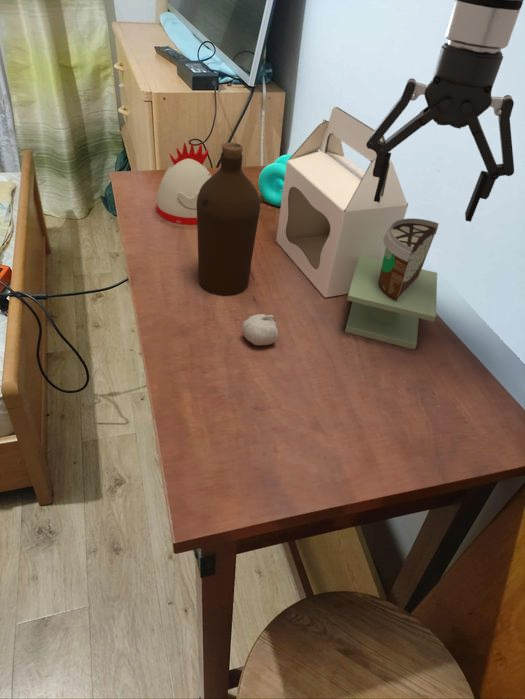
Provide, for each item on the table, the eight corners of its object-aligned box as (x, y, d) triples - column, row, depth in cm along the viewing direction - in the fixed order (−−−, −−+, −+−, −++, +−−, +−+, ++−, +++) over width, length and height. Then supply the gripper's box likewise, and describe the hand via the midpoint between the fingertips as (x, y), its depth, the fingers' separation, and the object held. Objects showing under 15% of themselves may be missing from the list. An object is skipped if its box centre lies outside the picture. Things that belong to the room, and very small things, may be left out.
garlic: (280, 334, 85) (284, 309, 81) (273, 355, 81) (277, 329, 77) (246, 326, 86) (248, 301, 82) (237, 346, 81) (239, 320, 78)
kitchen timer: (223, 224, 112) (227, 156, 102) (159, 225, 109) (157, 155, 99) (213, 196, 122) (215, 132, 113) (154, 196, 119) (152, 130, 109)
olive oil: (241, 303, 90) (254, 164, 74) (185, 288, 92) (187, 149, 76) (258, 274, 98) (274, 142, 82) (207, 261, 100) (213, 129, 84)
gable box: (383, 289, 99) (429, 142, 81) (325, 299, 94) (359, 145, 76) (328, 234, 114) (356, 100, 96) (274, 240, 109) (294, 100, 91)
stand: (423, 309, 95) (437, 272, 90) (420, 355, 85) (435, 316, 80) (349, 291, 97) (359, 254, 92) (338, 333, 87) (348, 295, 82)
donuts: (307, 198, 127) (314, 158, 121) (292, 213, 120) (298, 171, 114) (271, 187, 130) (276, 148, 123) (254, 201, 123) (258, 160, 116)
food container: (389, 261, 91) (405, 209, 85) (421, 274, 89) (440, 222, 82) (358, 290, 83) (373, 234, 76) (392, 305, 81) (411, 249, 74)
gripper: (574, 57, 64) (505, 215, 77) (376, 26, 67) (344, 182, 81) (586, 68, 58) (509, 236, 72) (370, 33, 62) (336, 199, 75)
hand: (421, 208), depth 76 cm, fingers open, 13 cm apart
